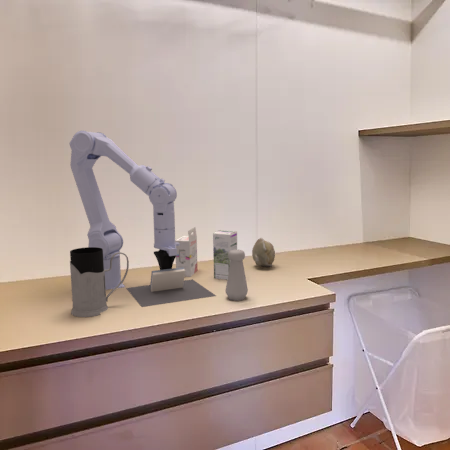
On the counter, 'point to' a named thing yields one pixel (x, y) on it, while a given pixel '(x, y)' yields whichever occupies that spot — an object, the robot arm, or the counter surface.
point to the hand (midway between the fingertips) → (166, 276)
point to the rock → (263, 253)
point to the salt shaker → (236, 276)
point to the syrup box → (223, 252)
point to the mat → (169, 294)
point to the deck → (167, 279)
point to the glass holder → (89, 281)
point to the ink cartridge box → (187, 253)
